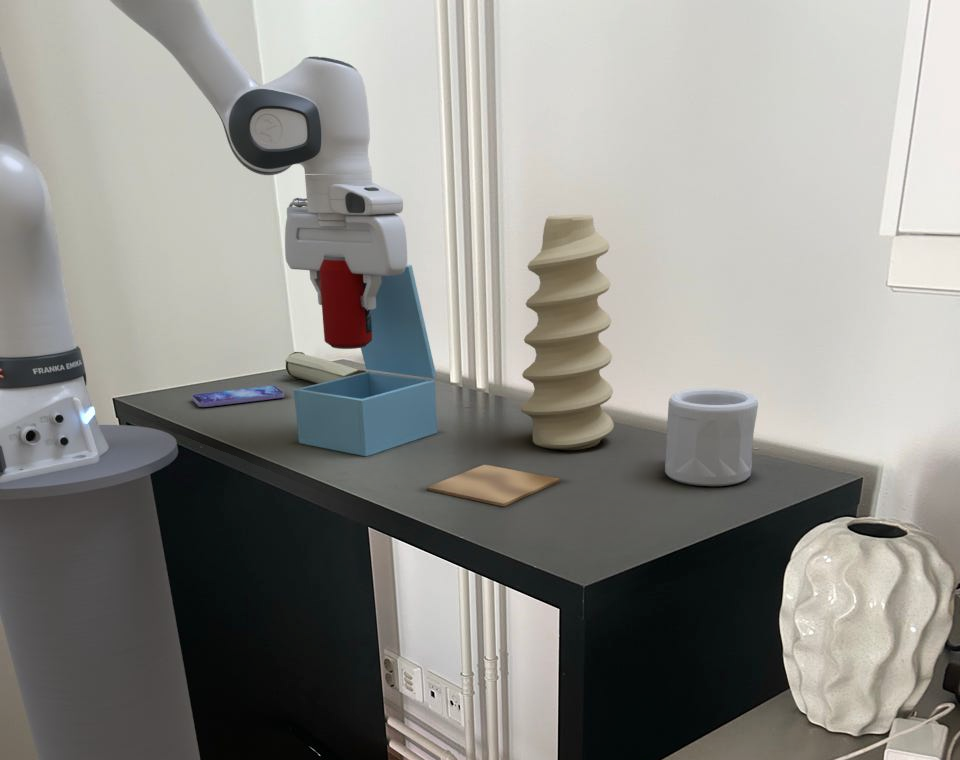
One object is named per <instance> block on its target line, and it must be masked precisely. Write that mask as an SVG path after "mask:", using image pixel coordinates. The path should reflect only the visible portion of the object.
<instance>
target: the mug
mask: <svg viewBox="0 0 960 760" xmlns="http://www.w3.org/2000/svg"><path fill="white" fill-rule="evenodd" d="M758 406H759V402H758V399H757V397H755V395H753V394H750V393H748V392H746V391H745V392H744V391H741V390H736V389H729V388H728V389H727V388H693V389H685V390H682V391H678V392H676V393H674V394H672V395H671V396H670V397H669V399H668V407H667V425H666V451H665V462H664V473H665V474H666V475H667V476H668V477H669V478H670V479H671V480H673V481H674V482H675V481H676V482H678V483H681V484H686V485H691V486H700V487H723V486H725V487H726V486H732V485H736V484H740V483H743V482H744V481H746V480H747V479H748V478H750V476H751V474H752V468H753V442H754V433H755V427H756V421H757V415H758V408H759V407H758Z"/></svg>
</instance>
